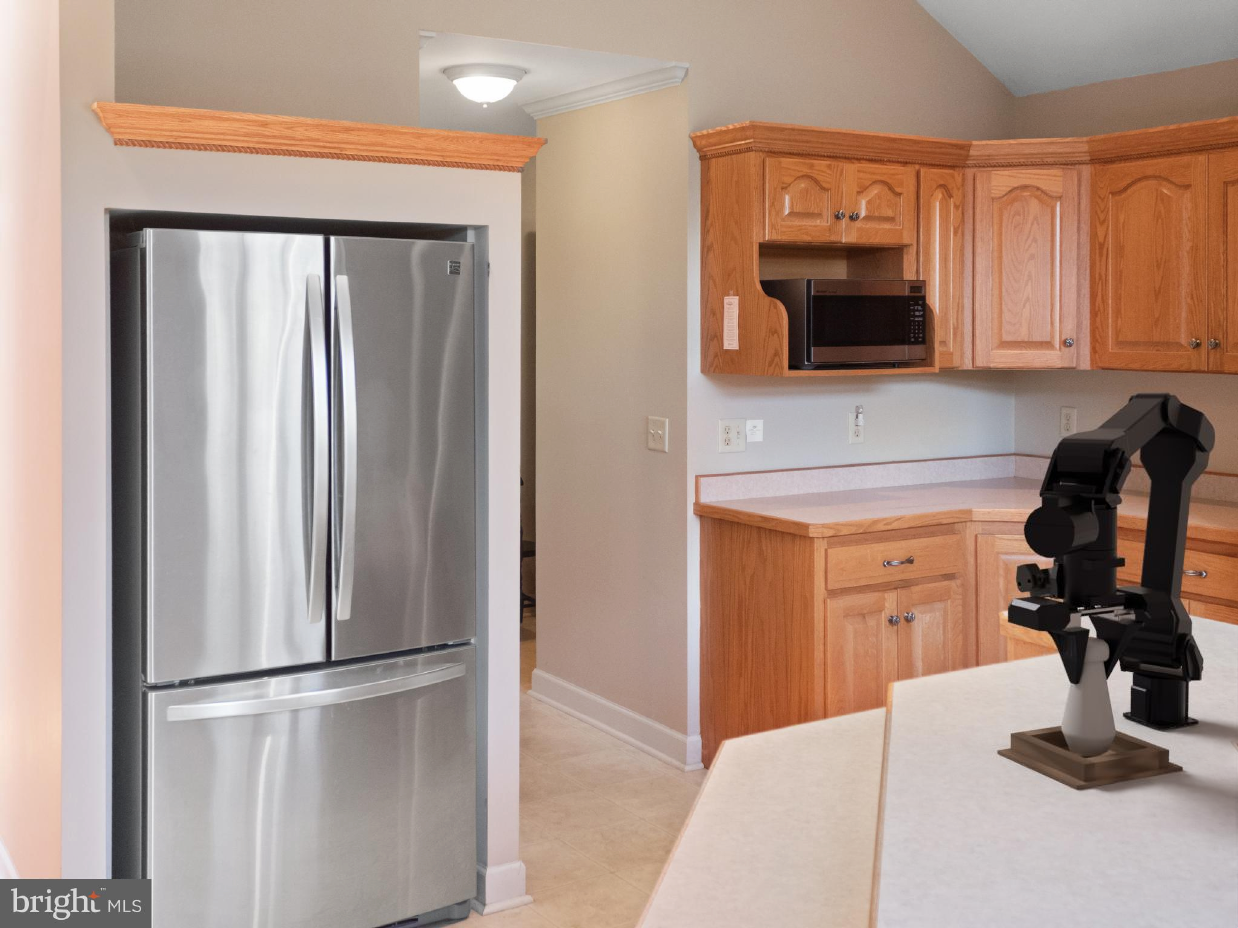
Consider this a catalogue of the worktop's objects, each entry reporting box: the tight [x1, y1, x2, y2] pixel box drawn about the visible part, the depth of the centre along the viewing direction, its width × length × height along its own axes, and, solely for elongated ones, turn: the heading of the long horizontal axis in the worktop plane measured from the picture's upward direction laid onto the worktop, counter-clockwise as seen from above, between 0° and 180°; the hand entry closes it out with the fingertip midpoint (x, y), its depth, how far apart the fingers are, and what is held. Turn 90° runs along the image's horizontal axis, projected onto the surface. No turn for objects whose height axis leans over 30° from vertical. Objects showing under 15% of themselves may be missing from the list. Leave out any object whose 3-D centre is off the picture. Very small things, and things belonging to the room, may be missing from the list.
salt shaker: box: [1060, 636, 1116, 755], centre depth 132 cm, size 6×6×13 cm
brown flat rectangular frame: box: [996, 725, 1184, 790], centre depth 133 cm, size 15×13×2 cm
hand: (1088, 681), depth 132 cm, fingers closed on salt shaker, 4 cm apart
